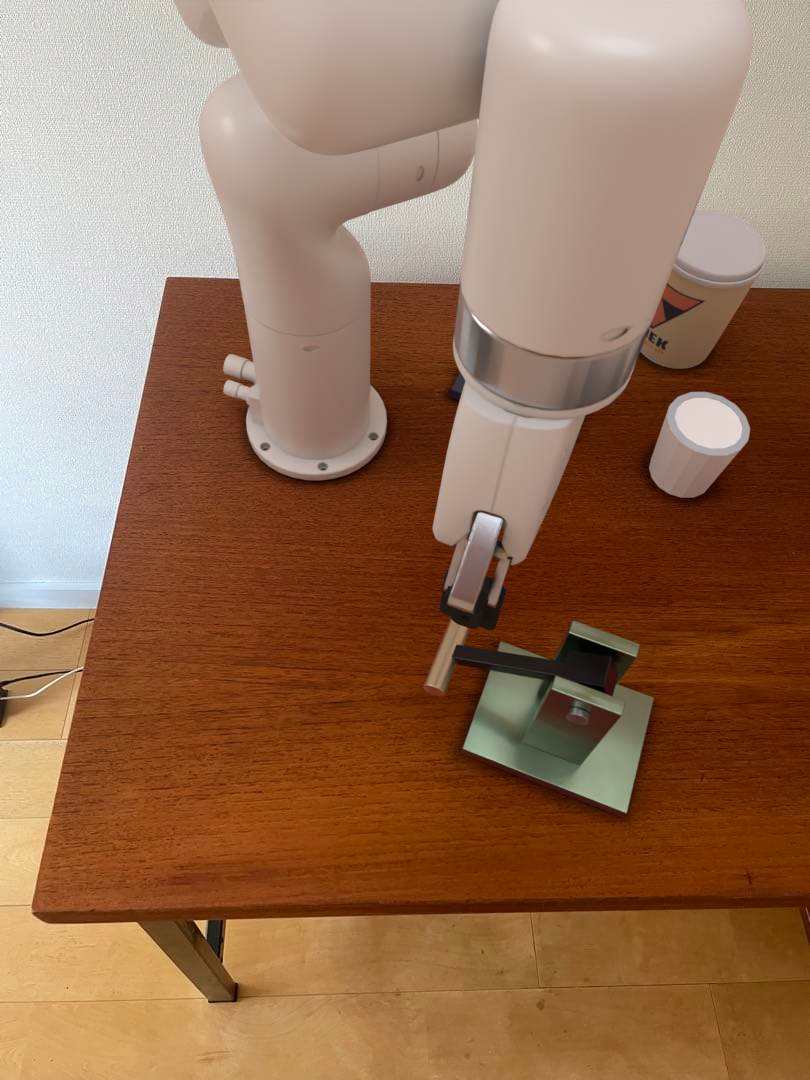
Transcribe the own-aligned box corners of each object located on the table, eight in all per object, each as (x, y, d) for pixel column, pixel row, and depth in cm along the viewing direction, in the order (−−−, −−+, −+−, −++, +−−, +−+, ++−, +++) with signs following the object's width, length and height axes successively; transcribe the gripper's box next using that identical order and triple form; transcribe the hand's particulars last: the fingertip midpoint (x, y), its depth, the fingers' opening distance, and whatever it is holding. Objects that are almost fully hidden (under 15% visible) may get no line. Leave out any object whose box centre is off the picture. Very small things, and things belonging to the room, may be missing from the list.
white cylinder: (658, 430, 74) (684, 378, 68) (728, 462, 73) (761, 412, 67) (630, 481, 71) (654, 431, 65) (703, 516, 69) (735, 468, 63)
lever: (429, 697, 55) (417, 680, 53) (458, 624, 58) (447, 606, 56) (603, 733, 49) (596, 715, 47) (625, 649, 52) (619, 629, 50)
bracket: (460, 753, 58) (480, 695, 48) (498, 647, 62) (524, 573, 52) (622, 817, 56) (679, 771, 46) (649, 702, 60) (706, 637, 50)
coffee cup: (609, 317, 82) (644, 216, 71) (690, 301, 83) (736, 200, 73) (650, 384, 77) (694, 285, 67) (735, 365, 79) (790, 266, 69)
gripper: (519, 182, 37) (477, 424, 52) (383, 454, 28) (379, 653, 43) (679, 223, 36) (590, 458, 50) (589, 520, 27) (513, 702, 42)
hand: (493, 548), depth 47 cm, fingers open, 9 cm apart
